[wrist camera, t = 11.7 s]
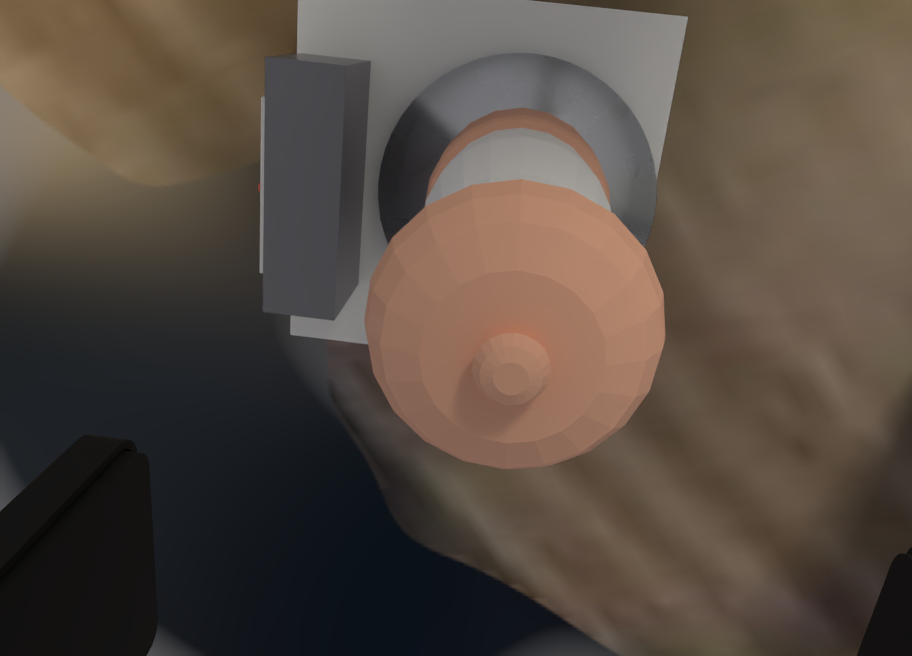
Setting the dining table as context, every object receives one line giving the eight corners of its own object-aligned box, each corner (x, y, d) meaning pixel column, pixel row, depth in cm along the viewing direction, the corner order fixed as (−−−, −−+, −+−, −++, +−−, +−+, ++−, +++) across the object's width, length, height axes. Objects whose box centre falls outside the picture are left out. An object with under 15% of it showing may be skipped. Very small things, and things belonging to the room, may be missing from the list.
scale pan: (678, 68, 32) (682, 69, 31) (626, 336, 37) (629, 344, 36) (391, 37, 33) (387, 38, 32) (373, 305, 37) (370, 313, 36)
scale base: (674, 18, 34) (716, 14, 27) (612, 351, 40) (632, 424, 33) (311, -21, 35) (253, -35, 28) (301, 313, 41) (251, 376, 33)
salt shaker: (581, 85, 32) (655, 153, 14) (619, 252, 34) (724, 493, 16) (412, 134, 33) (283, 255, 15) (460, 292, 35) (396, 558, 18)
